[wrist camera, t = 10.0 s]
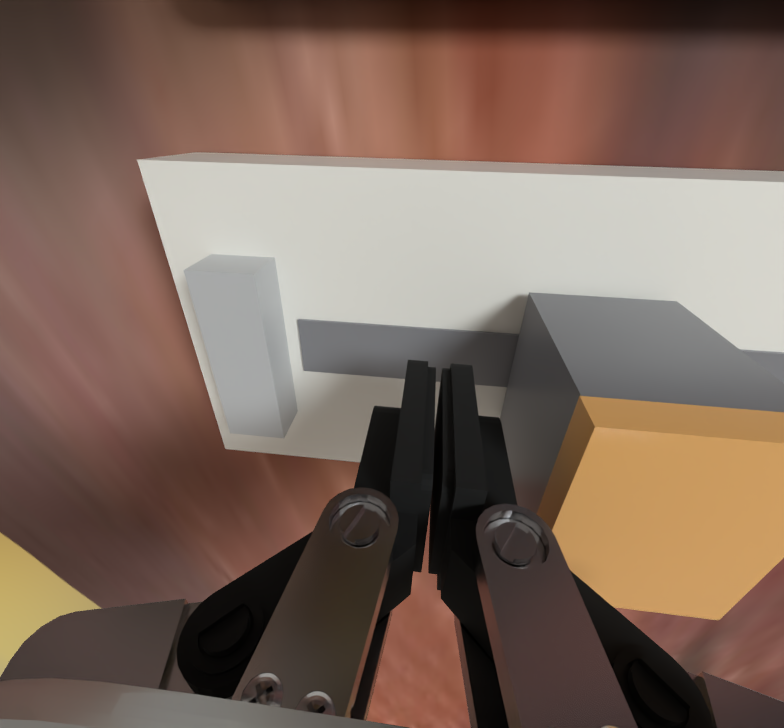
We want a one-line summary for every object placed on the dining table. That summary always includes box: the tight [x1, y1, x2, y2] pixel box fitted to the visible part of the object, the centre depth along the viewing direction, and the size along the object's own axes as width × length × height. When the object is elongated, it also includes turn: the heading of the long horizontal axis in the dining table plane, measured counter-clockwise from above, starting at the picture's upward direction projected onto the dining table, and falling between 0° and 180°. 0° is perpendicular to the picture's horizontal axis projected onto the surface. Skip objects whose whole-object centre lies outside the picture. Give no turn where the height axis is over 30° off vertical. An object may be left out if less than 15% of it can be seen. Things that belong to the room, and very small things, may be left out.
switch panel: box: [137, 152, 784, 462], centre depth 13 cm, size 11×26×4 cm, turn 89°
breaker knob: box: [500, 292, 784, 620], centre depth 10 cm, size 5×4×6 cm
